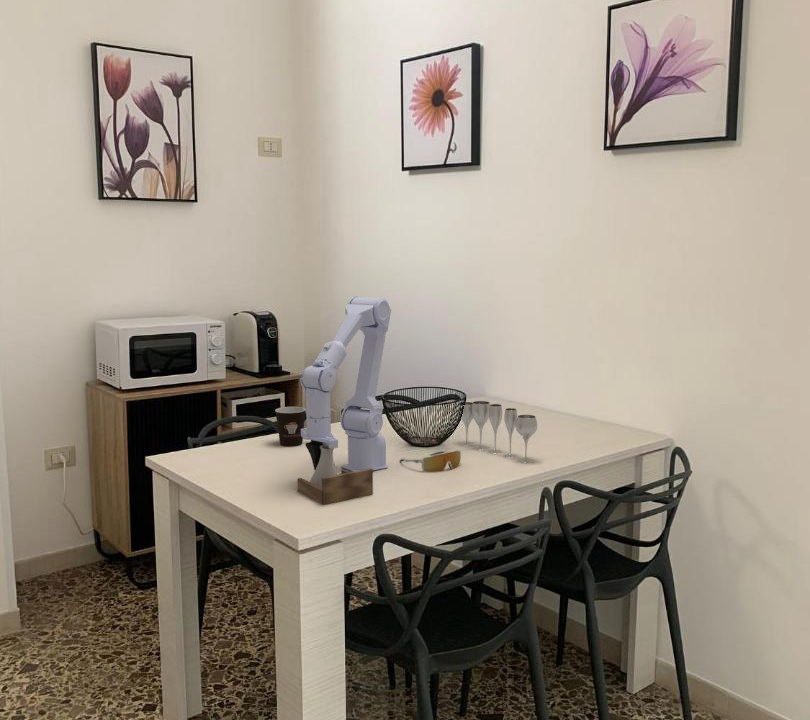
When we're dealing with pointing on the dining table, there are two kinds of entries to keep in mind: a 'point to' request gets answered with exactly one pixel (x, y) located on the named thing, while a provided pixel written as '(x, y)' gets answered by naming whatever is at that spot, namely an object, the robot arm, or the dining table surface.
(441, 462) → the sunglasses
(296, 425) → the coffee mug
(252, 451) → the dining table surface
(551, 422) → the dining table surface
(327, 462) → the flask
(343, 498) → the shelf bay
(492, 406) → the goblet set
